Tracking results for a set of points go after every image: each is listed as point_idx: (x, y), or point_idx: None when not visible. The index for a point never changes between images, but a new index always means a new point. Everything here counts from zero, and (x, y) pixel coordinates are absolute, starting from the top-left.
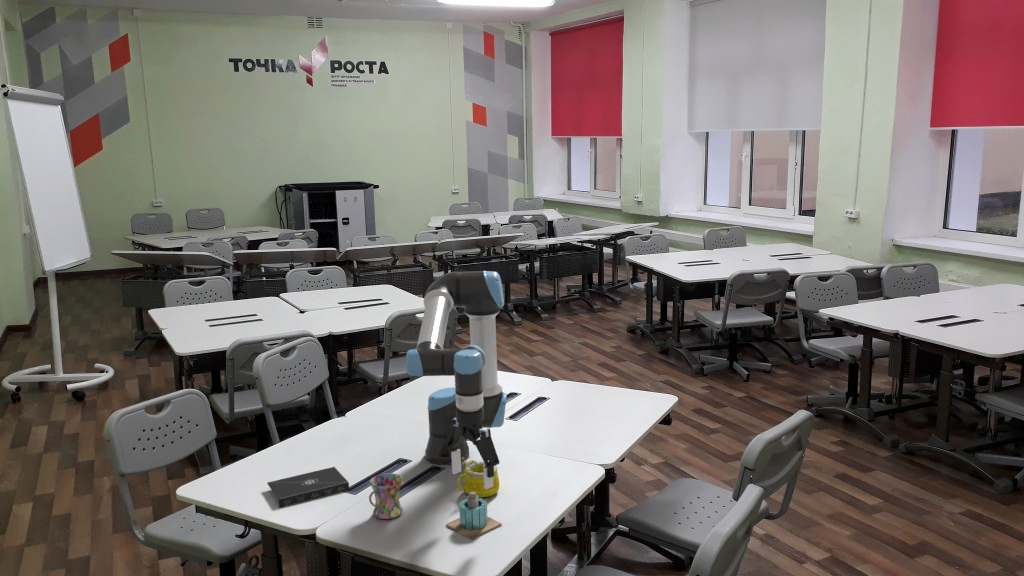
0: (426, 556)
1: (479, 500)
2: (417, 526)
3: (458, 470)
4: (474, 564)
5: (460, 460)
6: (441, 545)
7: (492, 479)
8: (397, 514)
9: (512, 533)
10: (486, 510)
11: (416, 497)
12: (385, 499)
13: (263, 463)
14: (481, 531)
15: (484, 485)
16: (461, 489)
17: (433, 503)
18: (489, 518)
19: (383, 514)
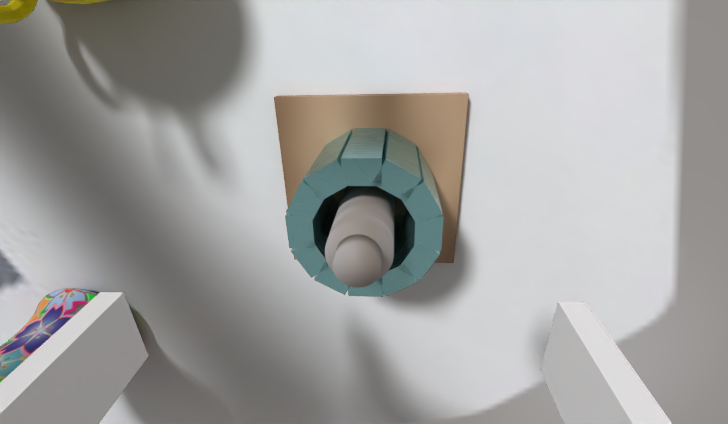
0: (416, 393)
1: (358, 184)
2: (234, 314)
3: (122, 328)
4: None
5: (32, 388)
6: (399, 338)
7: (623, 367)
8: None
9: (563, 109)
10: (427, 177)
11: (4, 187)
12: None
13: None
14: (448, 208)
15: (557, 395)
16: (31, 9)
17: (90, 173)
18: (385, 102)
19: None
